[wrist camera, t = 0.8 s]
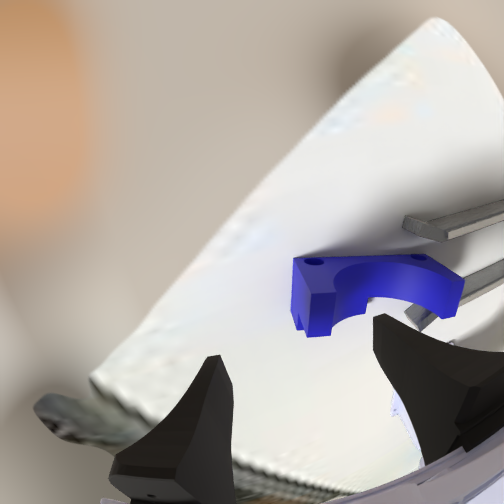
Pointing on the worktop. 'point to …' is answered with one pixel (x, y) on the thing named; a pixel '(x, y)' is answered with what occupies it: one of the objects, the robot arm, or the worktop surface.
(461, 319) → the worktop surface
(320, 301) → the cable clip
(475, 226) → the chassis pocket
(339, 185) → the worktop surface
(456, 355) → the robot arm
